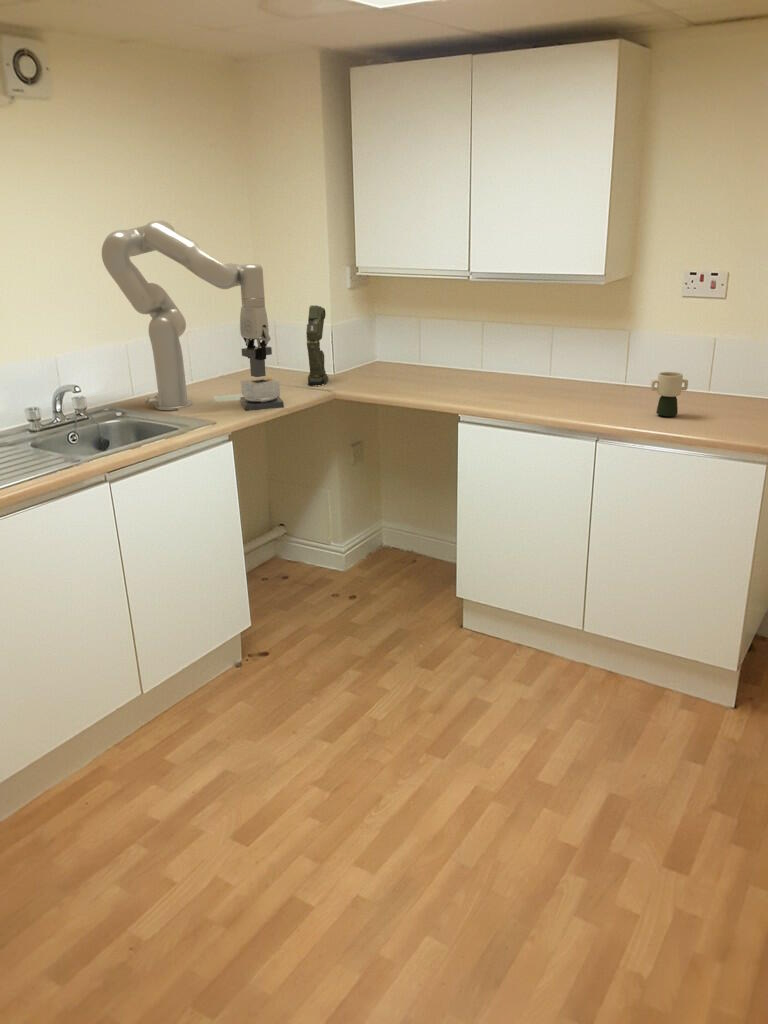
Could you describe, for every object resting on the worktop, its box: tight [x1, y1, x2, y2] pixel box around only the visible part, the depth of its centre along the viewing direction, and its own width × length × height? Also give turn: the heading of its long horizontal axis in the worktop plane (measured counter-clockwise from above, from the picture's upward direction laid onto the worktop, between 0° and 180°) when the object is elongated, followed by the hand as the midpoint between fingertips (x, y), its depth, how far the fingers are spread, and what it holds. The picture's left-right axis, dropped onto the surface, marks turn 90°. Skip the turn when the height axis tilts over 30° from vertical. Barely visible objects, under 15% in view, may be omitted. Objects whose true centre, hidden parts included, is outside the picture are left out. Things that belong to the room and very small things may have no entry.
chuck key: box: [241, 345, 273, 378], centre depth 280 cm, size 9×4×9 cm, turn 130°
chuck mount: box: [239, 396, 285, 412], centre depth 284 cm, size 13×13×2 cm
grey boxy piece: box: [240, 376, 281, 402], centre depth 283 cm, size 11×11×6 cm
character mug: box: [650, 371, 689, 417], centre depth 253 cm, size 11×7×13 cm, turn 87°
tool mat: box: [212, 393, 245, 403], centre depth 295 cm, size 12×10×1 cm
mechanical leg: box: [305, 305, 329, 386], centre depth 314 cm, size 14×7×30 cm, turn 168°
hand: (257, 358), depth 279 cm, fingers closed on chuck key, 4 cm apart
